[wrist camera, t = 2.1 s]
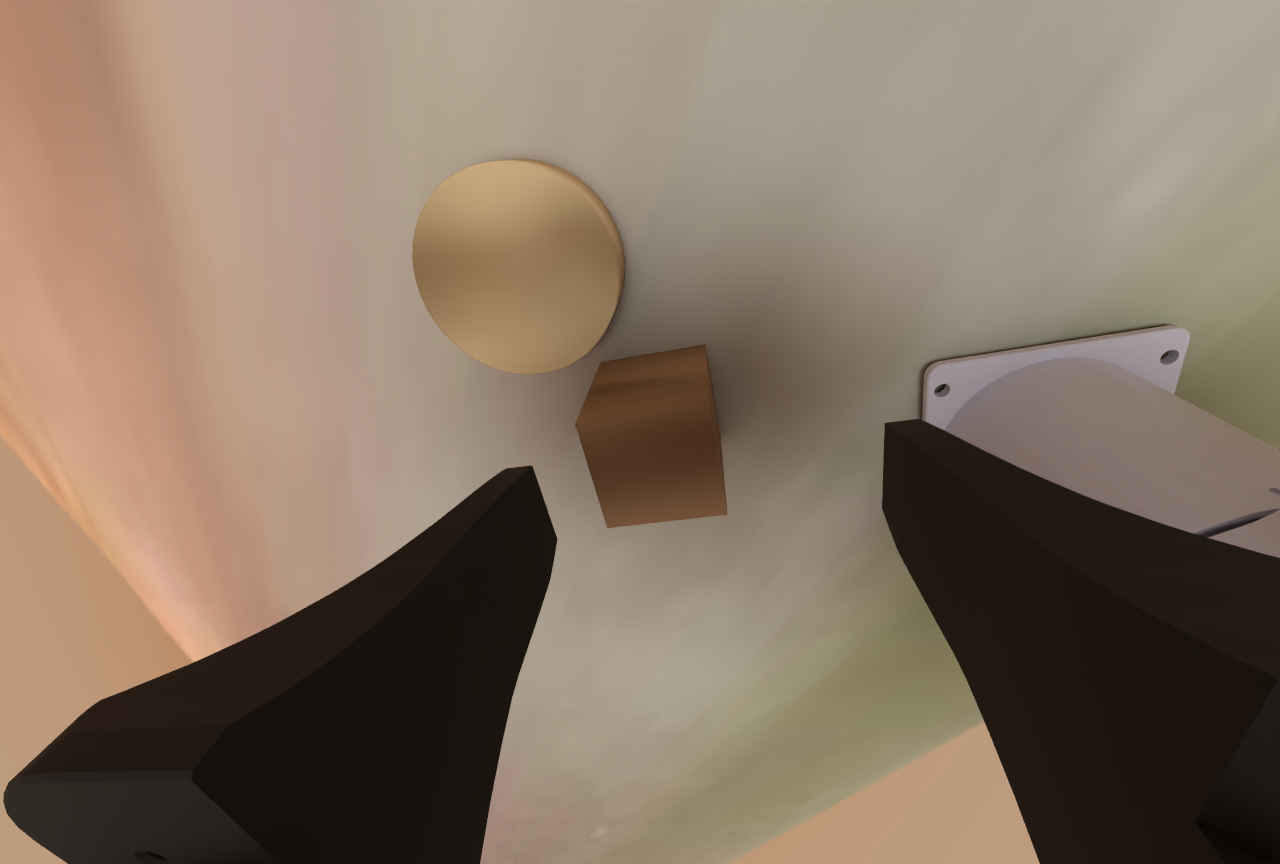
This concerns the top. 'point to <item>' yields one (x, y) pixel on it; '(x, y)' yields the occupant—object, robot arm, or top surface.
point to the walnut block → (654, 439)
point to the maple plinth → (519, 264)
